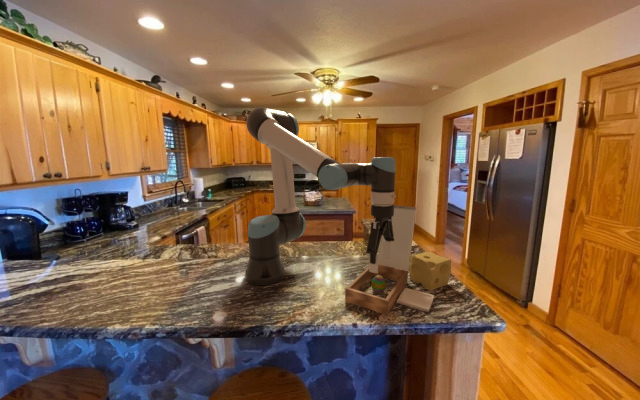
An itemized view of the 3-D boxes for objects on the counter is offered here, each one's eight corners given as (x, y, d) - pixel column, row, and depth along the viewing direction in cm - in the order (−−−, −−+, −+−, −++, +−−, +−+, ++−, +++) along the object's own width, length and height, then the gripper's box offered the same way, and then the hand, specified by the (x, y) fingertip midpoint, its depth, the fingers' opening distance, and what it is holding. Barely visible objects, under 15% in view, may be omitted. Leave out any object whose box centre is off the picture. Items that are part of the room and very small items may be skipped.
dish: (397, 302, 84) (397, 300, 84) (404, 290, 92) (405, 287, 92) (428, 312, 79) (429, 309, 79) (434, 298, 87) (434, 295, 87)
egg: (385, 288, 93) (386, 273, 92) (385, 295, 88) (386, 279, 87) (371, 287, 94) (372, 271, 93) (371, 294, 89) (371, 277, 88)
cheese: (430, 291, 91) (432, 264, 90) (407, 278, 101) (408, 254, 99) (449, 285, 96) (452, 259, 94) (426, 273, 105) (427, 249, 104)
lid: (380, 203, 105) (380, 203, 106) (372, 262, 104) (373, 262, 105) (415, 207, 98) (416, 207, 99) (408, 271, 97) (408, 270, 98)
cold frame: (345, 301, 85) (346, 260, 83) (376, 268, 109) (377, 236, 107) (387, 315, 78) (389, 271, 75) (410, 277, 102) (412, 243, 99)
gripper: (380, 212, 74) (378, 282, 77) (403, 199, 94) (401, 255, 98) (356, 209, 78) (355, 276, 81) (383, 198, 98) (382, 251, 102)
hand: (380, 264), depth 89 cm, fingers open, 13 cm apart
